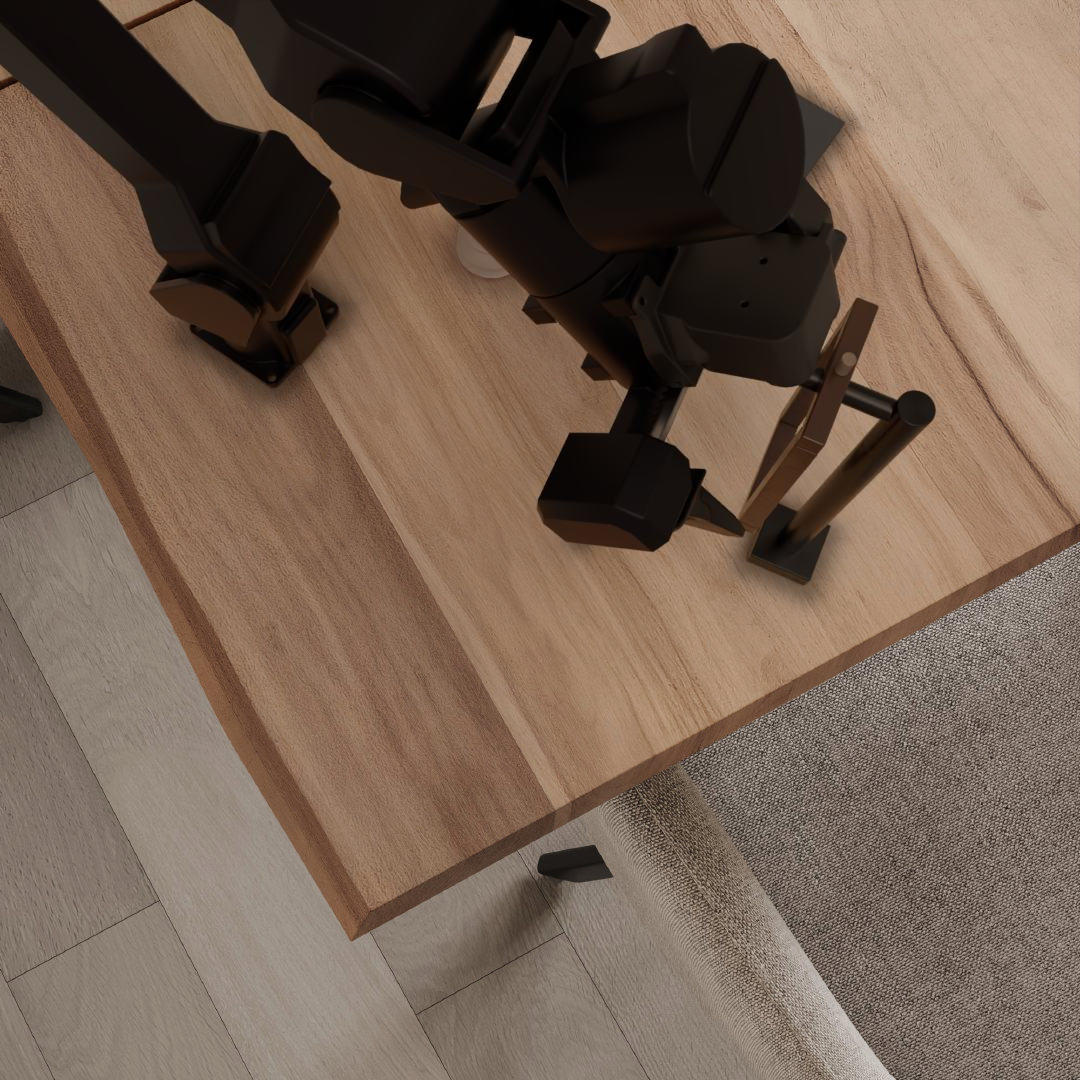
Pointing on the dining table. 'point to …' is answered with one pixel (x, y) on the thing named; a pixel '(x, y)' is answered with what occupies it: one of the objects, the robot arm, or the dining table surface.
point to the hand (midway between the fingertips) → (770, 450)
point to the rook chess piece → (477, 257)
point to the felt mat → (817, 131)
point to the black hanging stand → (839, 480)
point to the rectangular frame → (808, 417)
